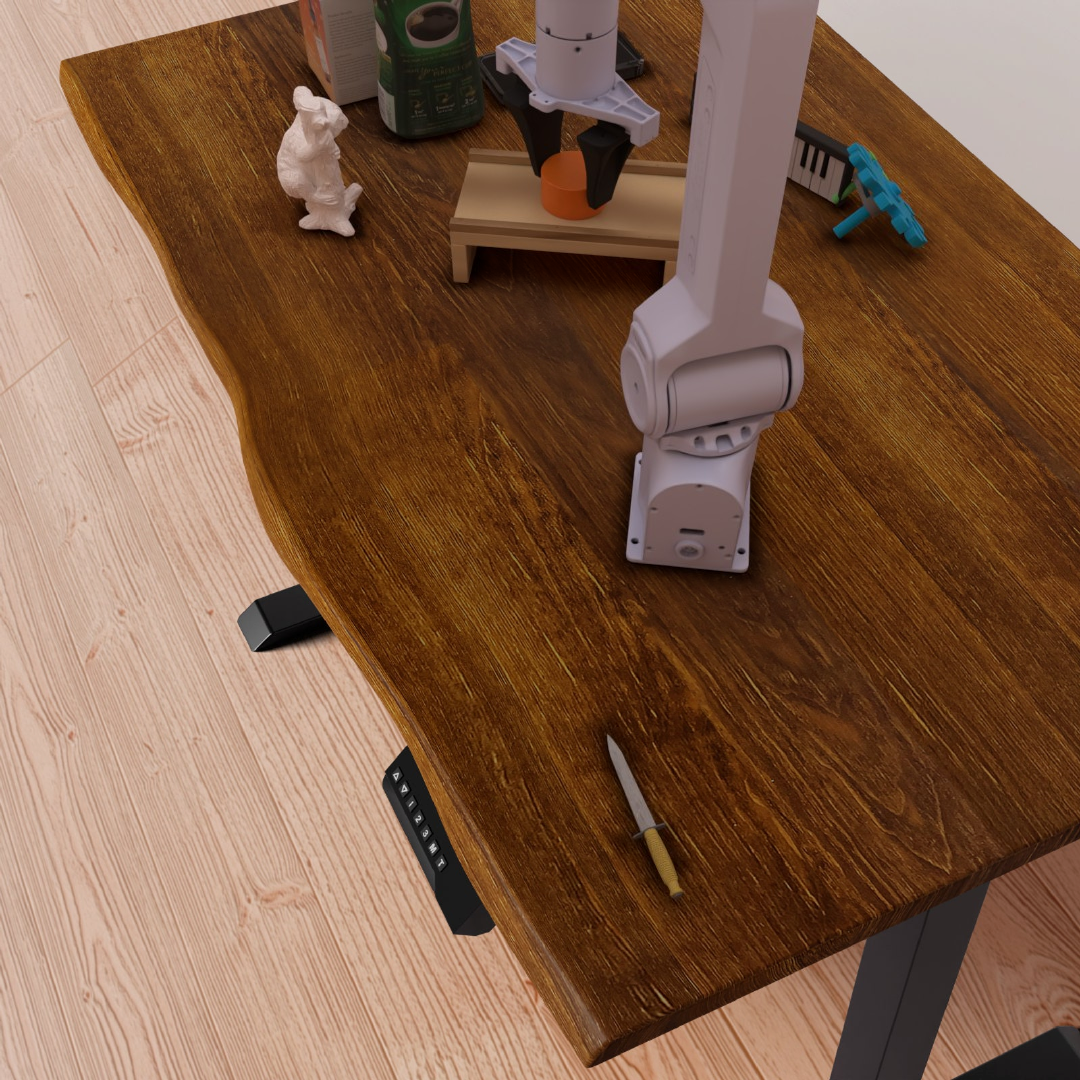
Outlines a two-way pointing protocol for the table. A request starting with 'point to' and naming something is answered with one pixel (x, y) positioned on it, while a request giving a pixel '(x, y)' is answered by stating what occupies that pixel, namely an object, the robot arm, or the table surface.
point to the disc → (566, 187)
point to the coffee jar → (427, 67)
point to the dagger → (645, 821)
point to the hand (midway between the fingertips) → (572, 186)
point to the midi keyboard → (815, 160)
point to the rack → (523, 223)
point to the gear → (877, 198)
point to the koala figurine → (317, 164)
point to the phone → (499, 83)
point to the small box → (342, 47)
